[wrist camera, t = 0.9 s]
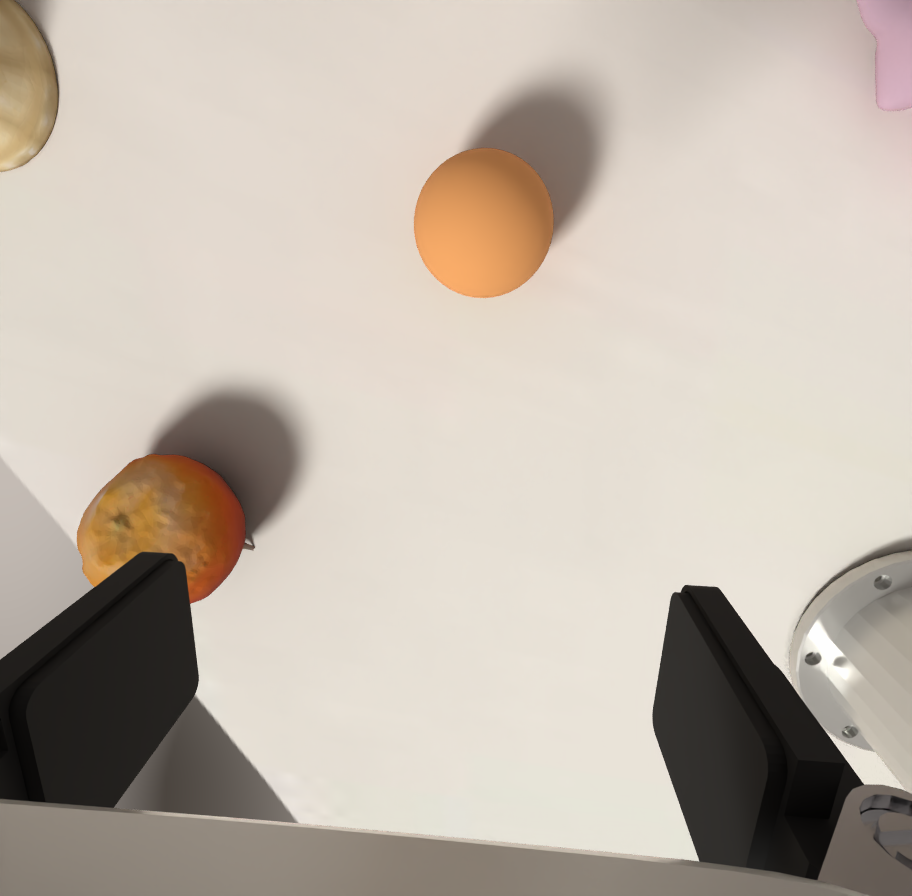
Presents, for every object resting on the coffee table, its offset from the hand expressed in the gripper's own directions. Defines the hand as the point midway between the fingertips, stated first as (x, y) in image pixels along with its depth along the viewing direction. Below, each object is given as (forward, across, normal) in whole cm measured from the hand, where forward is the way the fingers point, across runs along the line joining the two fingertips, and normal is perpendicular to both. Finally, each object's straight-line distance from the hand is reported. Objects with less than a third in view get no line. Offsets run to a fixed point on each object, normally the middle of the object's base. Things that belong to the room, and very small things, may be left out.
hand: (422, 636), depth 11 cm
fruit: (+20, +15, +7) cm, 26 cm away
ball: (+17, 0, -9) cm, 19 cm away
